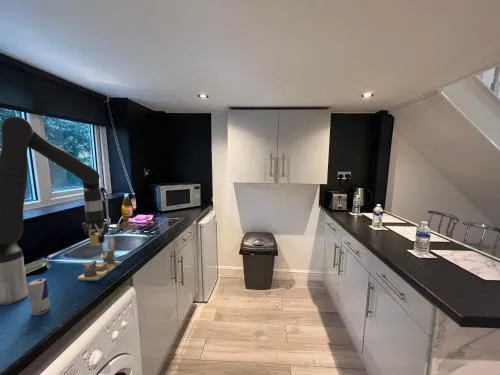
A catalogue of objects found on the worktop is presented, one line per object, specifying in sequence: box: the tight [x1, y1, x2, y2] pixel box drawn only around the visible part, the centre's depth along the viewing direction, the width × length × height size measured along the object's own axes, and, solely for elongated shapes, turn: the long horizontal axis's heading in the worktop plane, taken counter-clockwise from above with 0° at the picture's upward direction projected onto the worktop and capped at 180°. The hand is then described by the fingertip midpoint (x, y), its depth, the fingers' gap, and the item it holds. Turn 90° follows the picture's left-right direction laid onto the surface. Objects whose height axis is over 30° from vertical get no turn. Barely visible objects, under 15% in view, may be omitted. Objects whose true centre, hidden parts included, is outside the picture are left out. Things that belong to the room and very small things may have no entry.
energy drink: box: [27, 277, 51, 316], centre depth 90 cm, size 5×5×12 cm
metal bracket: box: [24, 257, 52, 275], centre depth 124 cm, size 14×6×15 cm
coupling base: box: [77, 248, 121, 281], centre depth 122 cm, size 18×10×8 cm, turn 177°
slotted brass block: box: [88, 232, 106, 247], centre depth 120 cm, size 5×4×5 cm
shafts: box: [85, 248, 112, 269], centre depth 121 cm, size 17×2×4 cm, turn 177°
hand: (97, 242), depth 120 cm, fingers closed on slotted brass block, 4 cm apart
